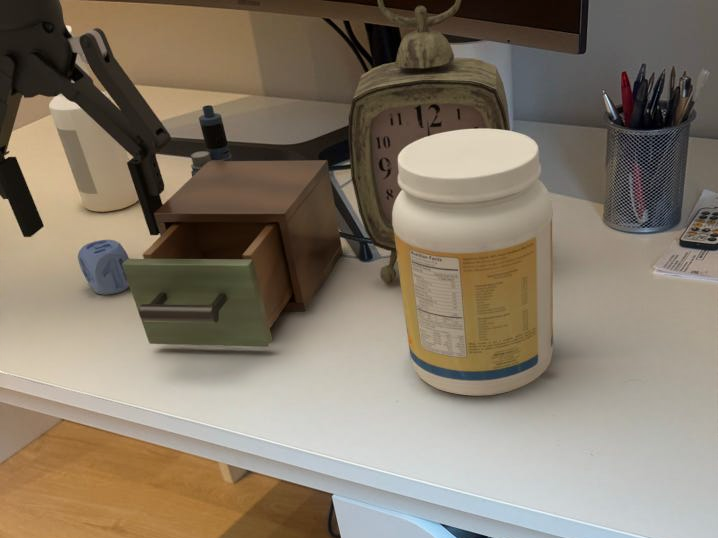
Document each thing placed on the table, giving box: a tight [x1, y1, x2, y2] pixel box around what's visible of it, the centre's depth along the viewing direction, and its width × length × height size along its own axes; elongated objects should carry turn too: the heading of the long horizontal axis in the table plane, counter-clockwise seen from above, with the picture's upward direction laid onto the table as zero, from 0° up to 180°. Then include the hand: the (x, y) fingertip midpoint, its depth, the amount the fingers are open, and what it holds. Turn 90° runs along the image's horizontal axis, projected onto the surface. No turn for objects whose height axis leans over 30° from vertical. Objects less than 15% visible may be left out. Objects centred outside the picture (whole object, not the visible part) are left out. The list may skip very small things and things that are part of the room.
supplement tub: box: [392, 129, 554, 397], centre depth 71 cm, size 12×12×17 cm
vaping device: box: [190, 104, 233, 178], centre depth 98 cm, size 3×5×12 cm, turn 147°
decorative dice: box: [77, 239, 130, 295], centre depth 92 cm, size 4×4×4 cm
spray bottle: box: [48, 24, 139, 213], centre depth 104 cm, size 7×7×18 cm
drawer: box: [122, 222, 294, 348], centre depth 81 cm, size 16×11×7 cm
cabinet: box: [154, 159, 343, 312], centre depth 89 cm, size 14×13×9 cm
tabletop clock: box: [347, 0, 511, 284], centre depth 82 cm, size 14×9×25 cm, turn 89°
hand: (96, 231), depth 89 cm, fingers open, 13 cm apart
